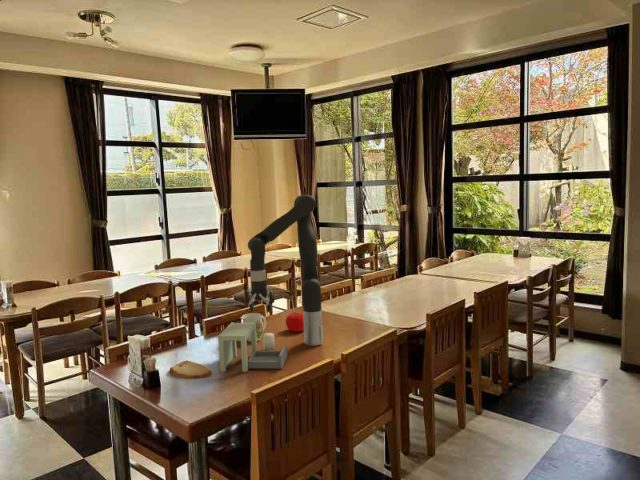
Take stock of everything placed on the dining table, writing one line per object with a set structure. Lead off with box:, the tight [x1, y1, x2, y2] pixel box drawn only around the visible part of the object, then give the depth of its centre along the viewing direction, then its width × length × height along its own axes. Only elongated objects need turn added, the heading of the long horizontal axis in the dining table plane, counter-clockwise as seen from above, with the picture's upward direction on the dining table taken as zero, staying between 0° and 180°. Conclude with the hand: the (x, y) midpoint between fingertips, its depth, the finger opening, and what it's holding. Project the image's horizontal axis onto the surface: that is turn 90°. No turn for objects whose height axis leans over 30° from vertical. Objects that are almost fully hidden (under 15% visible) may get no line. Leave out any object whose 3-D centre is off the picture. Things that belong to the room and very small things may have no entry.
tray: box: [248, 344, 288, 370], centre depth 219 cm, size 16×15×6 cm
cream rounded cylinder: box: [262, 332, 276, 351], centre depth 233 cm, size 5×5×9 cm
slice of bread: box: [169, 359, 213, 380], centre depth 212 cm, size 18×18×4 cm
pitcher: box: [240, 312, 267, 343], centre depth 254 cm, size 11×18×14 cm, turn 144°
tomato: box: [285, 312, 304, 333], centre depth 267 cm, size 12×12×10 cm
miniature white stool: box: [217, 322, 258, 373], centre depth 220 cm, size 12×20×16 cm, turn 174°
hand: (260, 311), depth 234 cm, fingers open, 8 cm apart
